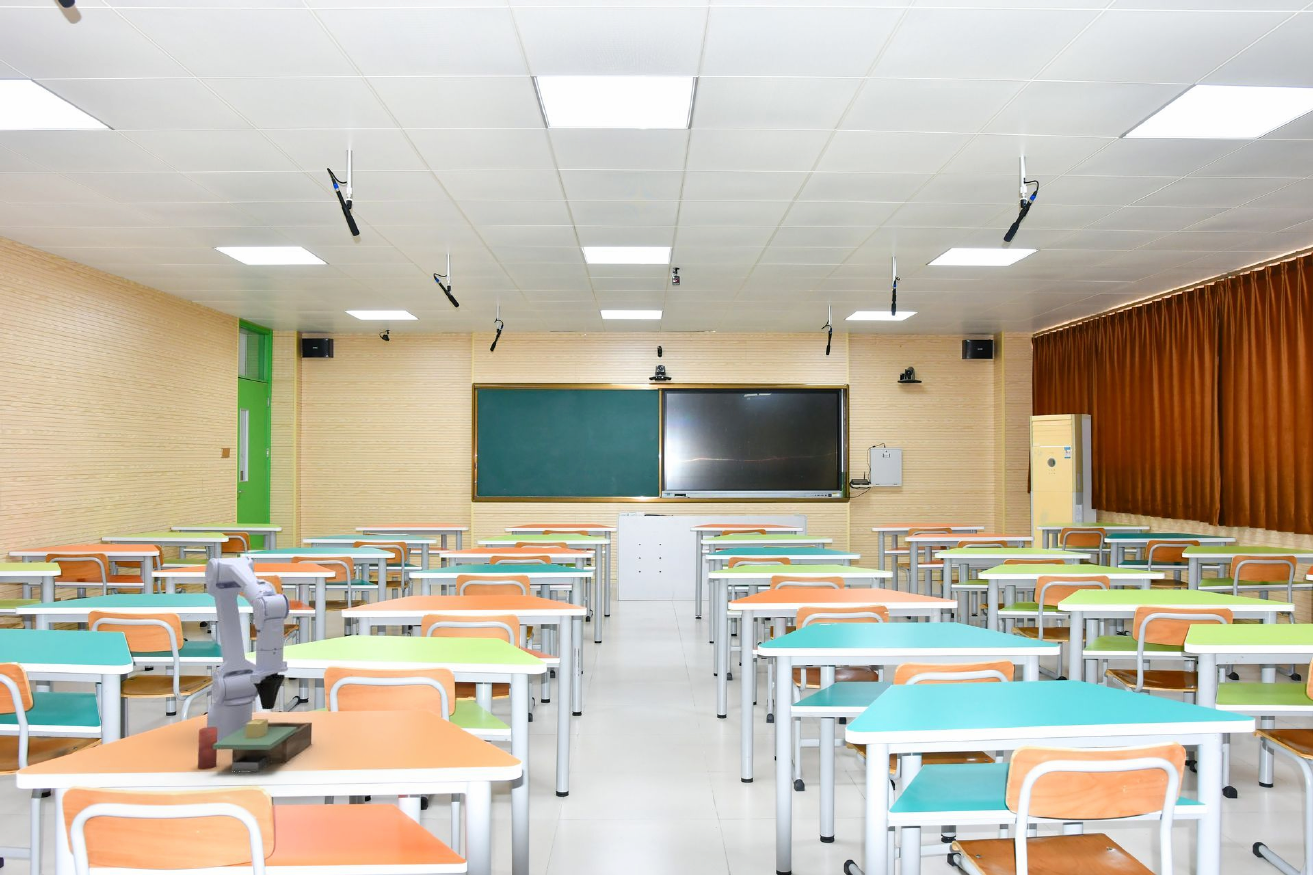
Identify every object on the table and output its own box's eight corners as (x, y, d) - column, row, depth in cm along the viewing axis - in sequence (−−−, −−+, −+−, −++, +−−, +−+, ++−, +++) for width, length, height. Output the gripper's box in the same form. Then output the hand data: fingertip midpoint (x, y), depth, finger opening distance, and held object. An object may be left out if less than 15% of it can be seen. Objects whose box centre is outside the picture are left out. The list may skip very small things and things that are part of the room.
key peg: (194, 768, 190) (195, 731, 190) (203, 763, 193) (204, 726, 194) (211, 769, 190) (212, 731, 190) (219, 763, 193) (220, 726, 194)
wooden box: (232, 762, 195) (232, 739, 195) (260, 743, 209) (261, 722, 209) (286, 762, 195) (286, 739, 195) (311, 743, 209) (311, 722, 209)
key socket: (231, 771, 188) (232, 762, 188) (244, 763, 193) (244, 754, 194) (257, 772, 188) (258, 762, 188) (269, 763, 193) (269, 754, 194)
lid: (213, 749, 186) (213, 730, 187) (244, 731, 200) (244, 713, 201) (269, 749, 186) (270, 730, 187) (296, 731, 200) (297, 713, 200)
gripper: (273, 654, 195) (271, 716, 194) (300, 642, 209) (298, 700, 208) (241, 654, 195) (239, 716, 194) (270, 642, 209) (269, 700, 208)
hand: (268, 708), depth 201 cm, fingers closed
